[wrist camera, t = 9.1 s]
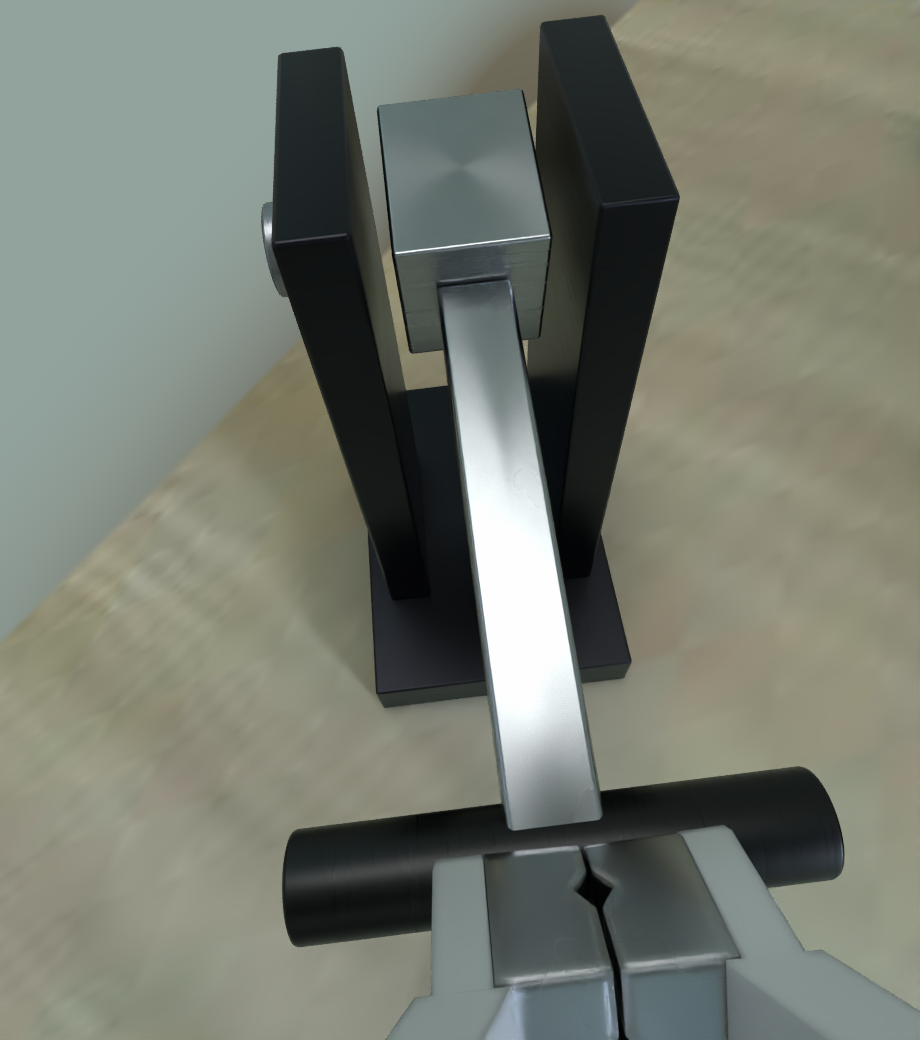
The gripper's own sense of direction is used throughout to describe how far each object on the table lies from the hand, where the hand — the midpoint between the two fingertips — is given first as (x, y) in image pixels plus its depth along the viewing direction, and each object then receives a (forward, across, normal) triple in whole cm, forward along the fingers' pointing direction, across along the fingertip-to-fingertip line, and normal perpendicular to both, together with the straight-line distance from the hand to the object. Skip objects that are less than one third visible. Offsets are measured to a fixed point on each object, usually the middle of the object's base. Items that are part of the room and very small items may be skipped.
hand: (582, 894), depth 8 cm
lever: (+4, 0, -3) cm, 6 cm away
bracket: (+13, 0, 0) cm, 13 cm away
